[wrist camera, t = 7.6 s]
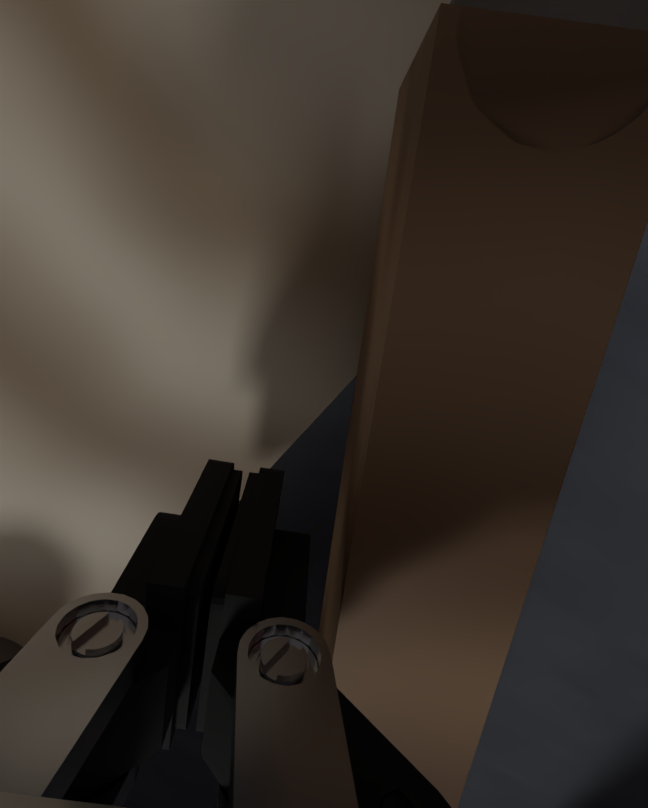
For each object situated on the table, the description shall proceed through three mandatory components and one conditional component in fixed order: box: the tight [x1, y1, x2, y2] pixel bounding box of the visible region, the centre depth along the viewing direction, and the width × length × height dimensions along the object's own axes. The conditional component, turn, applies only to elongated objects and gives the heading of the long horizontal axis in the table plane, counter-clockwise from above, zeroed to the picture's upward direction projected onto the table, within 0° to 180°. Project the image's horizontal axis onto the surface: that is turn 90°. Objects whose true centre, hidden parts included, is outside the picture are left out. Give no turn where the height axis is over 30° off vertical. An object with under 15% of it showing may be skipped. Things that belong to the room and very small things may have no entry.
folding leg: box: [319, 0, 648, 808], centre depth 10 cm, size 15×3×4 cm, turn 173°
